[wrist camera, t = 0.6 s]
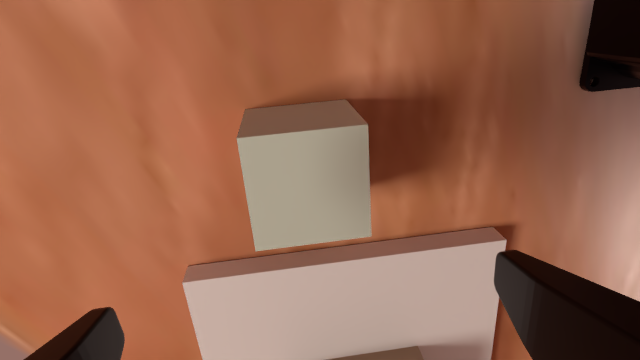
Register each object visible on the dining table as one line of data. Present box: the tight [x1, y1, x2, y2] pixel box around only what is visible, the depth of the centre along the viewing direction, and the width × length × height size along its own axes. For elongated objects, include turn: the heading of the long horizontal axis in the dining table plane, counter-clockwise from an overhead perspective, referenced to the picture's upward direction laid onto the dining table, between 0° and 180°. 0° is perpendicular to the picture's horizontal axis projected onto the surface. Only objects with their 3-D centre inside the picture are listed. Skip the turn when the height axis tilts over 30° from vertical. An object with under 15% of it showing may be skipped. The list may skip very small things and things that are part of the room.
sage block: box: [237, 99, 371, 251], centre depth 18 cm, size 5×5×5 cm
